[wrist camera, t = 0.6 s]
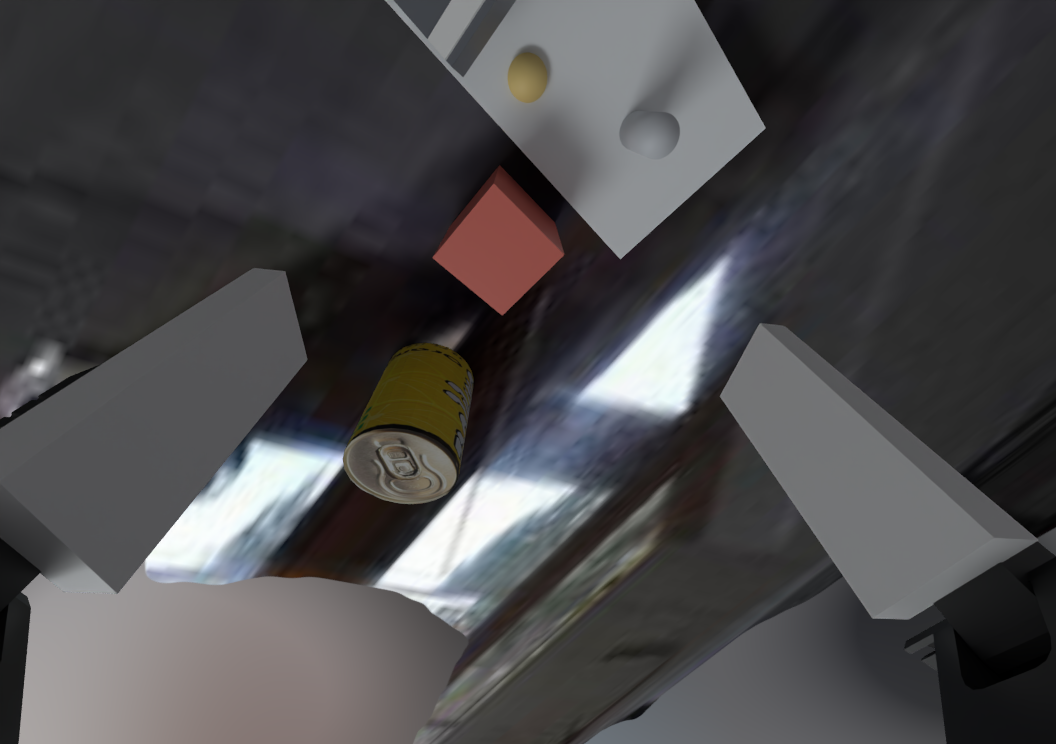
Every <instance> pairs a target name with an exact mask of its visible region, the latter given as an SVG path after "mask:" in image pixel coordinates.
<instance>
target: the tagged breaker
mask: <svg viewBox="0 0 1056 744" xmlns="http://www.w3.org/2000/svg"><path fill="white" fill-rule="evenodd" d="M394 1H395V3H396V4H397V5H398V6H399V7H400V8H401V9H402V11H403V12H404V13H405V14H406V15H407V16H408V17H409V19H410V20H411V21H412V22H413V23H414V24H415V25H416V27H417V28H418V29H419V30H420V31H421V32H422V34H423V35H424V36H425V37H426V38H427V40H428V41H429V42H430V43H431V44H432V45H433V46H434V48H435V49H436V50H437V51H438V52H439V53H440V54H441V56H442V57H443V58H444V59H445V60H446V61H447V62H448V63H449V64H450V66H451V67H452V68H453V69H454V70H456V71H457V72H458V73H459V74H460V75H461V76H462V77H464V76H465V74H466V73H467V71H468V70H469V68H470V67H471V65H472V64H473V63H474V61H475V60H476V58H477V57H478V55H479V54H480V52H481V51H482V49H483V48H484V47H485V45H486V44H487V42H488V41H489V39H490V38H491V36H492V35H493V33H494V32H495V30H496V29H497V28H498V26H499V25H500V23H501V22H502V20H503V19H504V17H505V16H506V14H507V13H508V11H509V10H510V9H511V7H512V6H513V4H514V3H515V1H516V0H394Z"/></svg>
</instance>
